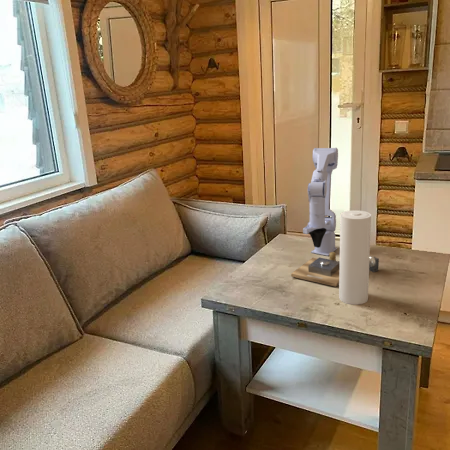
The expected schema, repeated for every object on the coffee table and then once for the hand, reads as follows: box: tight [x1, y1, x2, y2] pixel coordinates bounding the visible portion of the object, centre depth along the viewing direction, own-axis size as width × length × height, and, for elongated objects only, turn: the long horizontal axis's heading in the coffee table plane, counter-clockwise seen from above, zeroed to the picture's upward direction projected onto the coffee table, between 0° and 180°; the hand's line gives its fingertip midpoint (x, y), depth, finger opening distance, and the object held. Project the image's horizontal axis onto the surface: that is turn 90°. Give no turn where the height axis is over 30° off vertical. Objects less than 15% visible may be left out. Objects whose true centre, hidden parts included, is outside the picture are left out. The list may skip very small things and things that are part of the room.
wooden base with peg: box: [290, 251, 340, 287], centre depth 172 cm, size 18×18×5 cm
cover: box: [308, 257, 340, 277], centre depth 172 cm, size 9×9×3 cm
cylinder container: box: [338, 209, 372, 306], centre depth 149 cm, size 9×9×30 cm
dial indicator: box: [369, 255, 380, 273], centre depth 172 cm, size 3×4×6 cm
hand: (317, 246), depth 175 cm, fingers closed
